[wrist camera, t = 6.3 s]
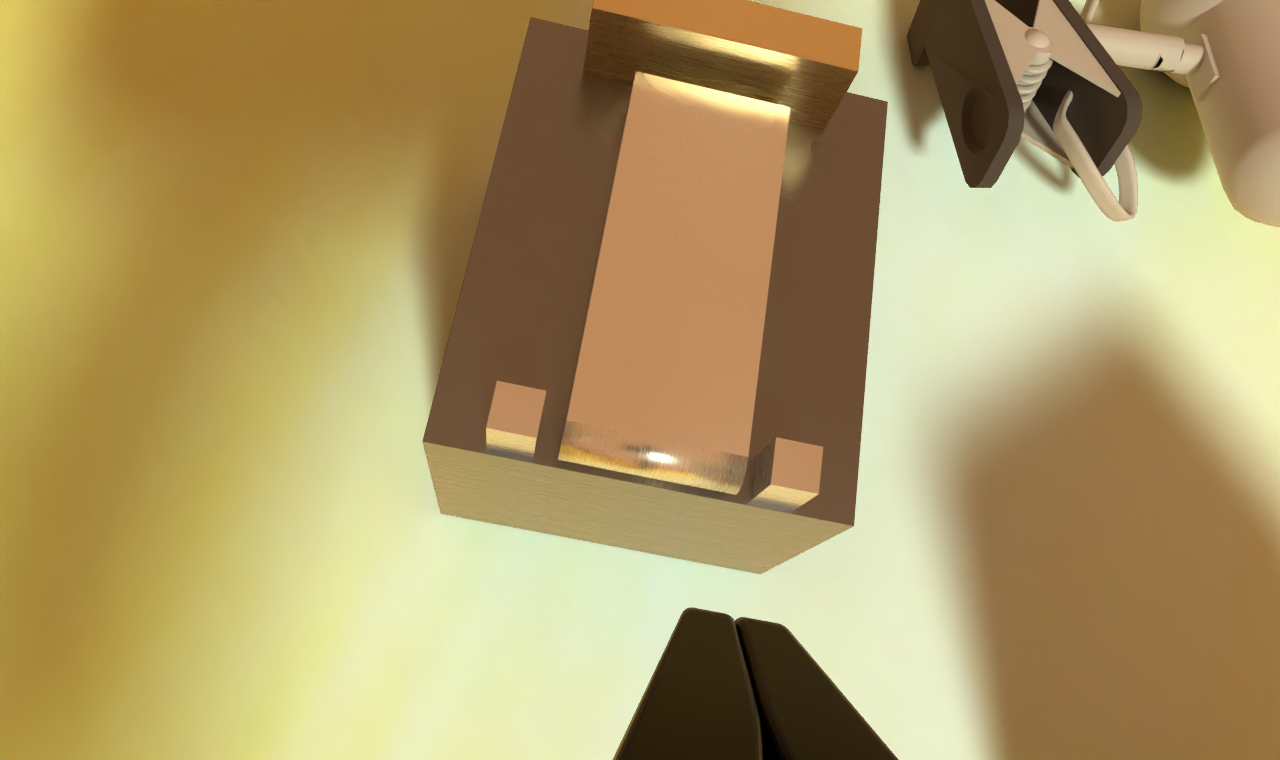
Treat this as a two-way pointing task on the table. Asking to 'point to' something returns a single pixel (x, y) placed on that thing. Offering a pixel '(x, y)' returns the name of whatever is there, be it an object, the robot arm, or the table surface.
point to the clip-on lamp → (1106, 88)
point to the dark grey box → (565, 267)
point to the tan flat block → (680, 289)
